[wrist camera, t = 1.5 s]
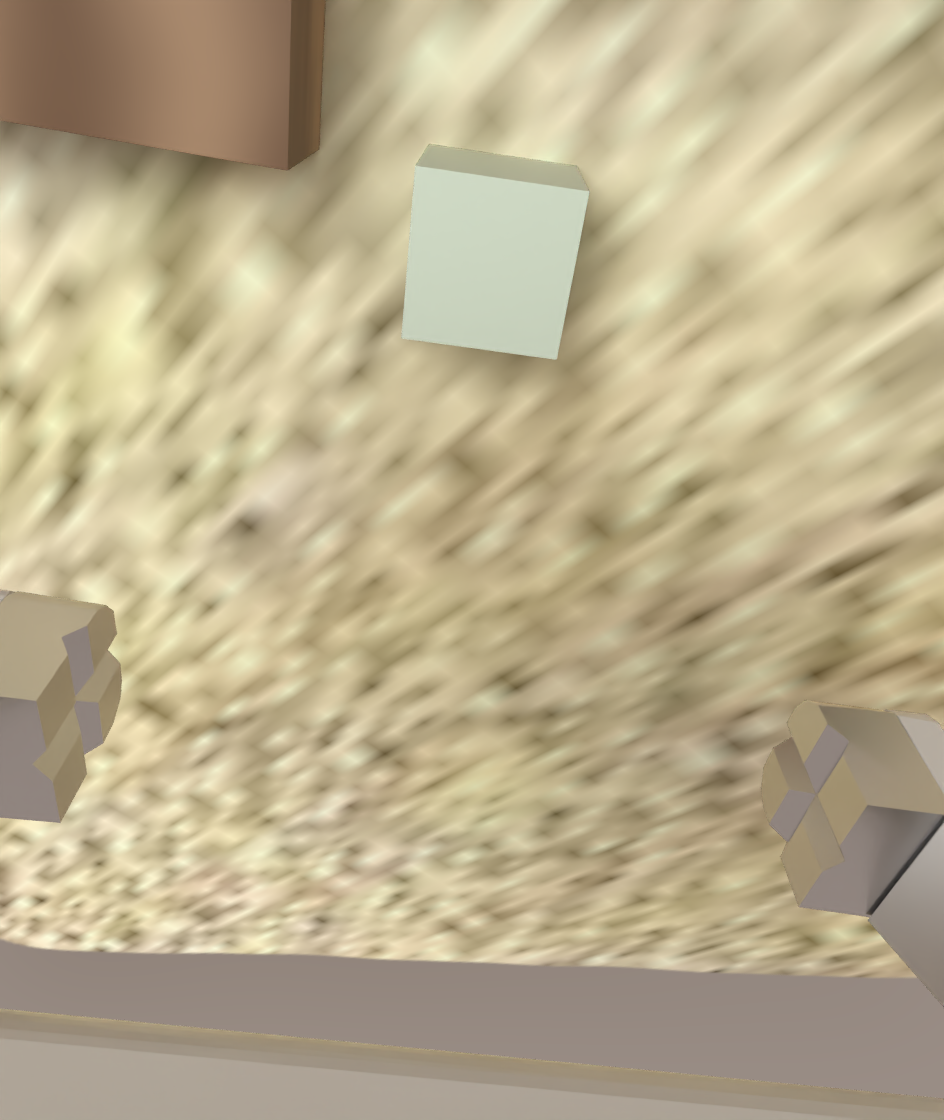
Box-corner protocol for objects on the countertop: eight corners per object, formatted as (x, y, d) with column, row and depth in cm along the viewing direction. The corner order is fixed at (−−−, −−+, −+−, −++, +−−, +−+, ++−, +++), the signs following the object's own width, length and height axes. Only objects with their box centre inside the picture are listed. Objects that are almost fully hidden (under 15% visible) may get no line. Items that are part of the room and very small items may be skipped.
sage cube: (576, 165, 27) (589, 191, 23) (549, 312, 30) (556, 359, 25) (429, 143, 27) (415, 165, 22) (416, 293, 29) (401, 338, 25)
